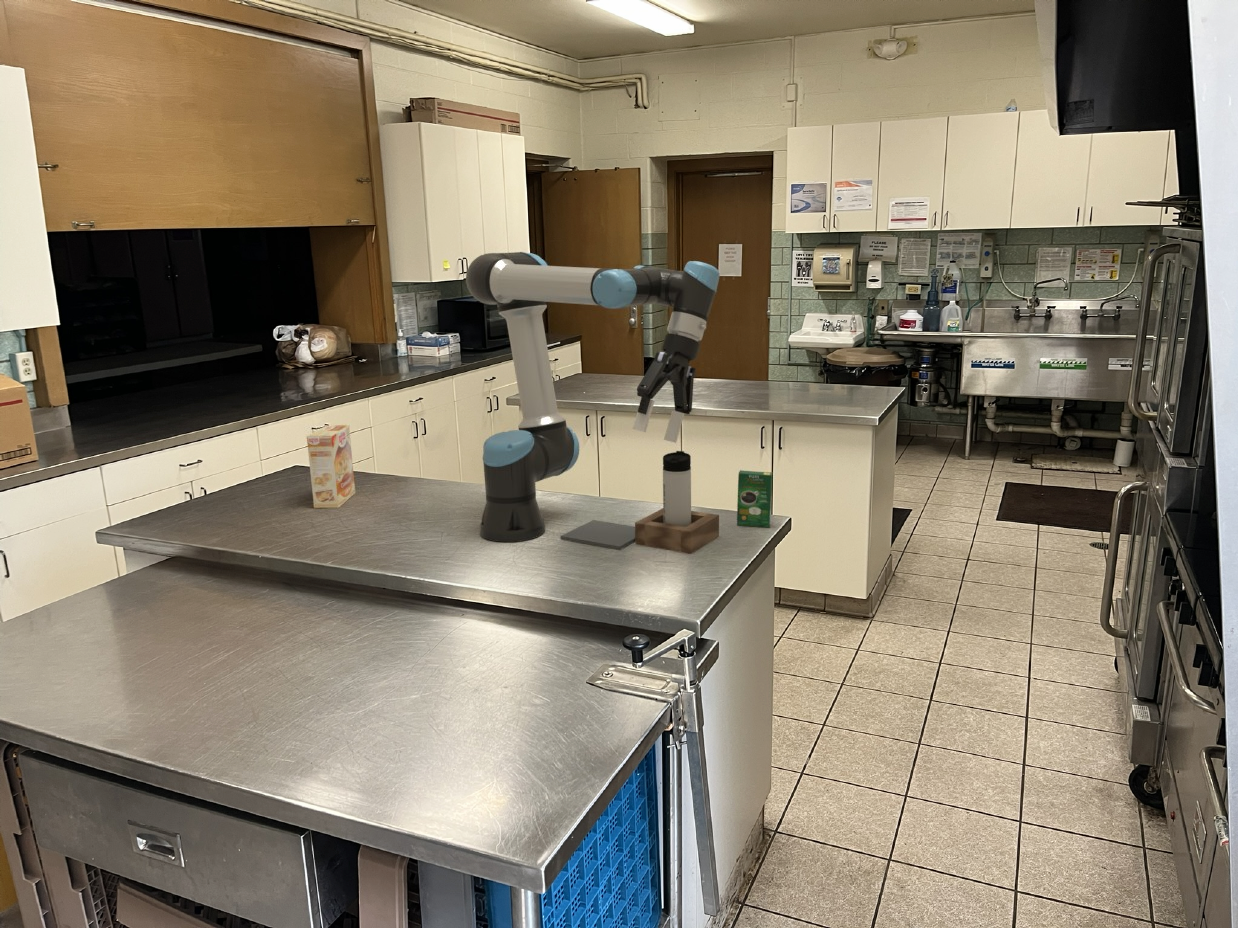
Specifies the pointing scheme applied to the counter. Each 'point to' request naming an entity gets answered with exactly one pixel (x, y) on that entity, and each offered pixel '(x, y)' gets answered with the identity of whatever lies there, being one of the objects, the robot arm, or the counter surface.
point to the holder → (677, 532)
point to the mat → (602, 534)
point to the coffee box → (754, 498)
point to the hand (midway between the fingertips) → (654, 436)
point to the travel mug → (677, 489)
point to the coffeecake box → (331, 466)
